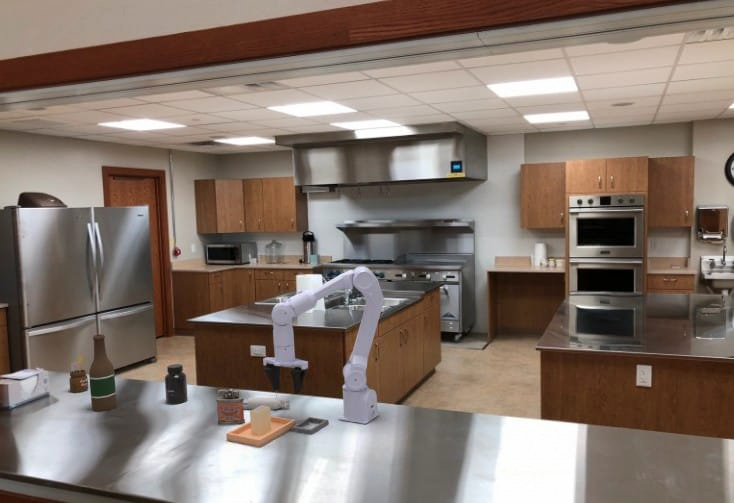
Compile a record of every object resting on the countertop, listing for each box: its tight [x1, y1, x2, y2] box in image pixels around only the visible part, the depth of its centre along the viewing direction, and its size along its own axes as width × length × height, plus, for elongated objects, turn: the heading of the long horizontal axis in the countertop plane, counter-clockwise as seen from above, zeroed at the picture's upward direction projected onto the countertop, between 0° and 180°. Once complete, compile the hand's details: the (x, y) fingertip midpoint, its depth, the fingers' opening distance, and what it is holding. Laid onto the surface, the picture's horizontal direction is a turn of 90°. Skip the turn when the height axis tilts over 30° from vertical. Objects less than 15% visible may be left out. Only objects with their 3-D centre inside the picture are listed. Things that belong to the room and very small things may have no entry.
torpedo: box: [243, 390, 291, 411], centre depth 184 cm, size 18×5×6 cm, turn 81°
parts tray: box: [225, 415, 297, 448], centre depth 164 cm, size 12×16×2 cm
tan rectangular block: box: [249, 405, 272, 436], centre depth 163 cm, size 3×5×6 cm, turn 150°
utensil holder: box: [68, 355, 89, 394], centre depth 212 cm, size 6×6×12 cm
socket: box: [291, 416, 329, 436], centre depth 166 cm, size 7×9×1 cm
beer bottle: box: [88, 333, 117, 412], centre depth 191 cm, size 8×8×24 cm
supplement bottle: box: [164, 363, 188, 405], centre depth 195 cm, size 7×7×12 cm
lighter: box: [215, 388, 246, 426], centre depth 173 cm, size 8×3×10 cm, turn 84°
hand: (287, 391), depth 170 cm, fingers open, 7 cm apart
